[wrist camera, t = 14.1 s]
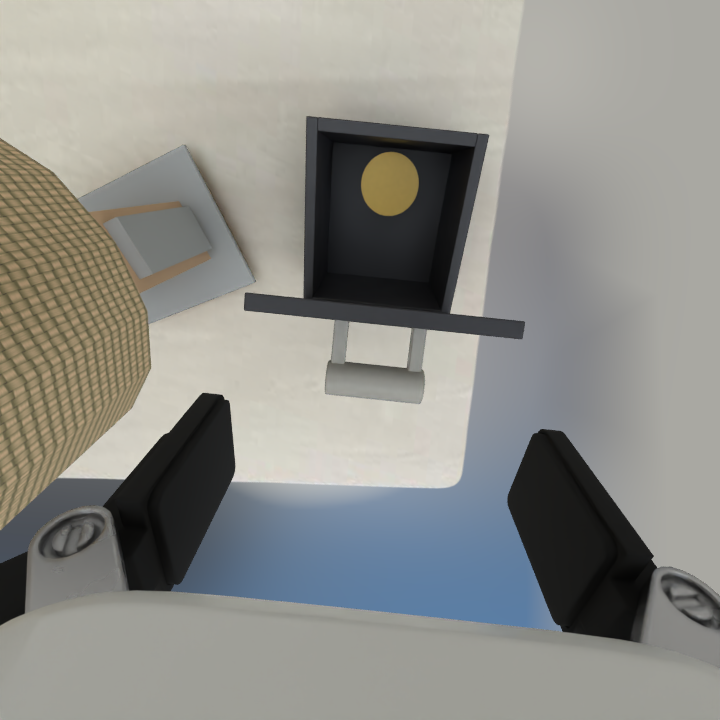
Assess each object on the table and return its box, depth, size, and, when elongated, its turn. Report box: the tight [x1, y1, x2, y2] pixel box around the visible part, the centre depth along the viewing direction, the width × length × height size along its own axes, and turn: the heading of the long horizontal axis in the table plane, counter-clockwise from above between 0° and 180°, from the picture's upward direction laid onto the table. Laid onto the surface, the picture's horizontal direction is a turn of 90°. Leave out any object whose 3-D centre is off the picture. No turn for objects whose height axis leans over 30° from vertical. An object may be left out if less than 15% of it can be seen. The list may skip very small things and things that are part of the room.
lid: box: [244, 293, 525, 404], centre depth 23 cm, size 14×13×5 cm
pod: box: [361, 152, 419, 216], centre depth 32 cm, size 5×5×5 cm
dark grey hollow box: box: [304, 116, 489, 314], centre depth 32 cm, size 14×13×10 cm
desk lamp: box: [0, 138, 256, 530], centre depth 23 cm, size 20×20×35 cm
